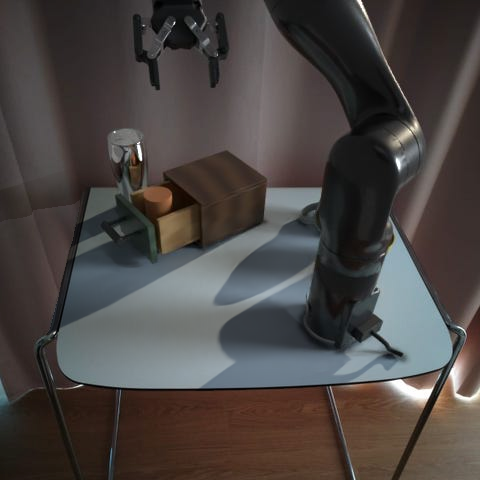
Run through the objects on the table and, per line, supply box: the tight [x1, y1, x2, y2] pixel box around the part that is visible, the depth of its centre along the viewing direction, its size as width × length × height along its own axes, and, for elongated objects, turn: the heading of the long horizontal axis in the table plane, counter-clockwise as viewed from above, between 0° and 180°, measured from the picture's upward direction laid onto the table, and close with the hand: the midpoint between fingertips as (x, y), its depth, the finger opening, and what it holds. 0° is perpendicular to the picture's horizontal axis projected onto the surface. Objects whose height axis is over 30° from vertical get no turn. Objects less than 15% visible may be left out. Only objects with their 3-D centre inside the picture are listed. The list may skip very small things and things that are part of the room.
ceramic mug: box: [299, 197, 322, 233], centre depth 95 cm, size 11×8×8 cm
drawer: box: [99, 180, 200, 264], centre depth 88 cm, size 18×11×8 cm, turn 127°
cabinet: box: [162, 149, 268, 249], centre depth 94 cm, size 15×13×10 cm
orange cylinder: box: [144, 187, 173, 240], centre depth 88 cm, size 5×5×8 cm
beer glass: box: [106, 127, 149, 202], centre depth 94 cm, size 7×7×15 cm
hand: (185, 87), depth 75 cm, fingers open, 8 cm apart
